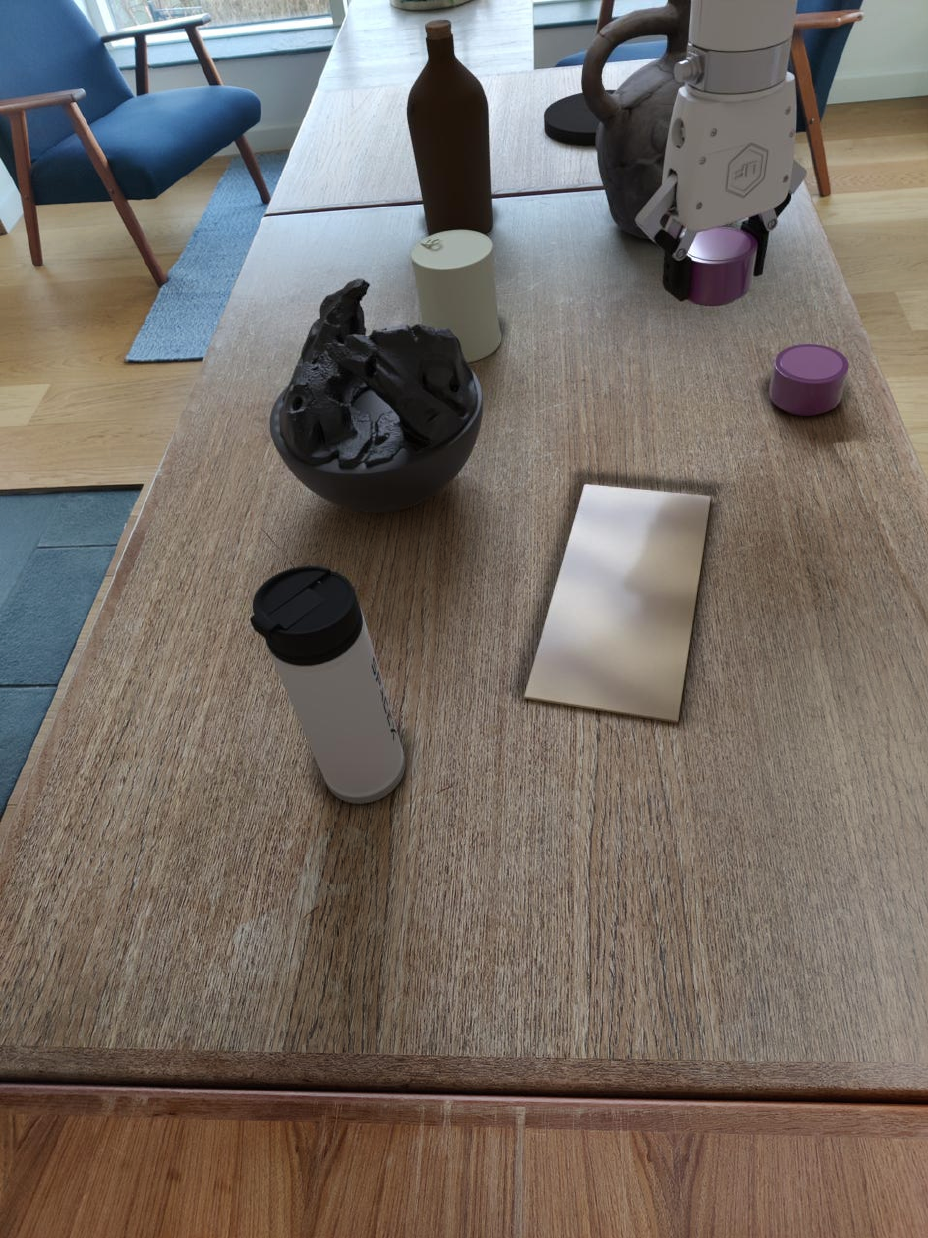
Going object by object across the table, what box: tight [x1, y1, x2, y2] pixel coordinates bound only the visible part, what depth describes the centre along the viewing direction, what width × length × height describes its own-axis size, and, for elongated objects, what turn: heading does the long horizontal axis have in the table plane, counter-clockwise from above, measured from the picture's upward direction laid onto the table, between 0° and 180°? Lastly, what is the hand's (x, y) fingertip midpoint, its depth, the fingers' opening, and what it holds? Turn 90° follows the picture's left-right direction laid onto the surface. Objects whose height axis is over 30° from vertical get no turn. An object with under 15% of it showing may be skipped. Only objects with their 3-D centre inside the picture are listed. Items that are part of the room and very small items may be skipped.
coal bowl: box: [269, 277, 484, 513], centre depth 82 cm, size 20×20×19 cm
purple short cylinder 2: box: [768, 343, 850, 417], centre depth 90 cm, size 7×7×5 cm
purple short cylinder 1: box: [686, 226, 758, 308], centre depth 80 cm, size 7×7×4 cm
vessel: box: [580, 0, 691, 240], centre depth 108 cm, size 24×22×30 cm
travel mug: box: [249, 565, 406, 805], centre depth 60 cm, size 6×7×20 cm
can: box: [410, 230, 502, 364], centre depth 101 cm, size 9×9×12 cm
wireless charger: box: [543, 89, 617, 147], centre depth 144 cm, size 18×18×2 cm
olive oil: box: [406, 19, 494, 236], centre depth 116 cm, size 11×11×25 cm
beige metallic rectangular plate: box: [523, 483, 712, 724], centre depth 77 cm, size 26×12×1 cm, turn 164°
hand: (712, 280), depth 81 cm, fingers closed on purple short cylinder 1, 7 cm apart
